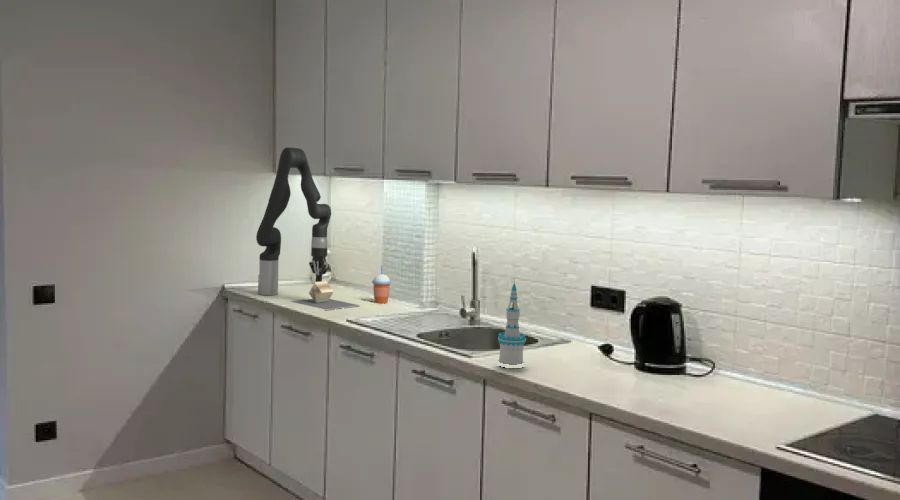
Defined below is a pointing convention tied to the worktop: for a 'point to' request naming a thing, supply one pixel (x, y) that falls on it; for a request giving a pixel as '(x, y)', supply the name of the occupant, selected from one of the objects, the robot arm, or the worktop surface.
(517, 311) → the model tower
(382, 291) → the cup with straw
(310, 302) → the rubber mat
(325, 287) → the birch cube
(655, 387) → the worktop surface
